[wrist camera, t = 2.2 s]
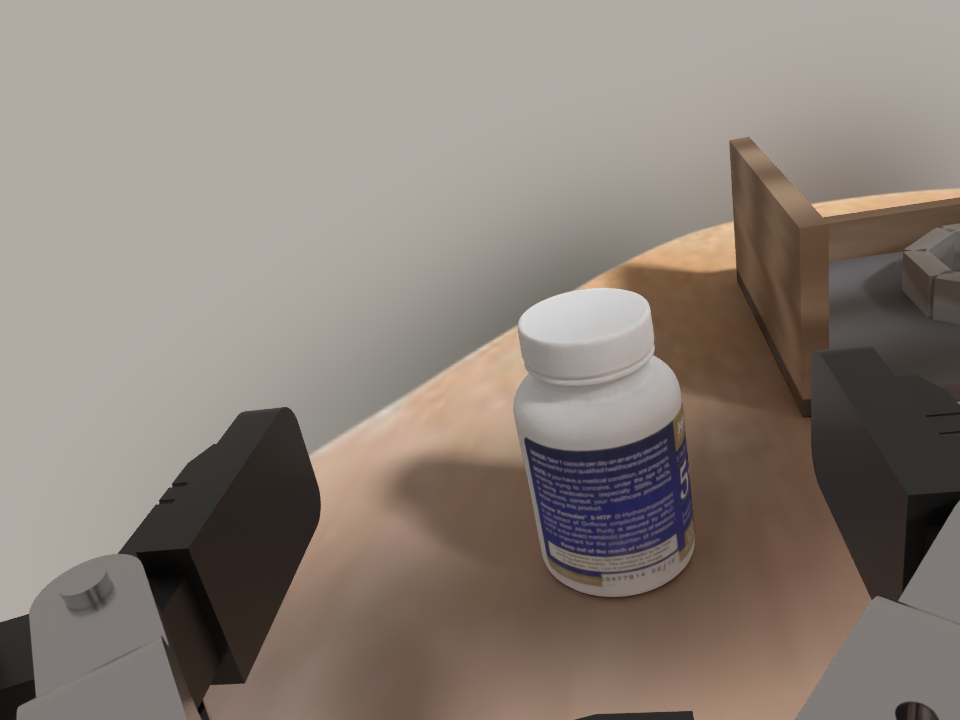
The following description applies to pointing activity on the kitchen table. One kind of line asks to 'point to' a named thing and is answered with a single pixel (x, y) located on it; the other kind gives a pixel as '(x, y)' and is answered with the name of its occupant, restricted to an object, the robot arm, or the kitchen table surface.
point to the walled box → (846, 277)
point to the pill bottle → (603, 444)
